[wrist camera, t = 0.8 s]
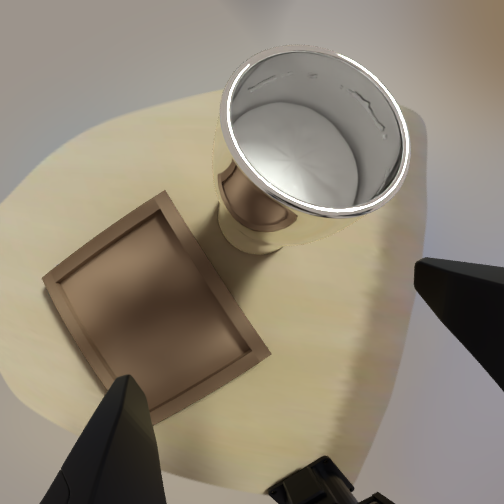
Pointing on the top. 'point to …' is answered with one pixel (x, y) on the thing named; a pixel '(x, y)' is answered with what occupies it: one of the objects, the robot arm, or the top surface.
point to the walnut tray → (154, 310)
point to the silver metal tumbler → (304, 148)
